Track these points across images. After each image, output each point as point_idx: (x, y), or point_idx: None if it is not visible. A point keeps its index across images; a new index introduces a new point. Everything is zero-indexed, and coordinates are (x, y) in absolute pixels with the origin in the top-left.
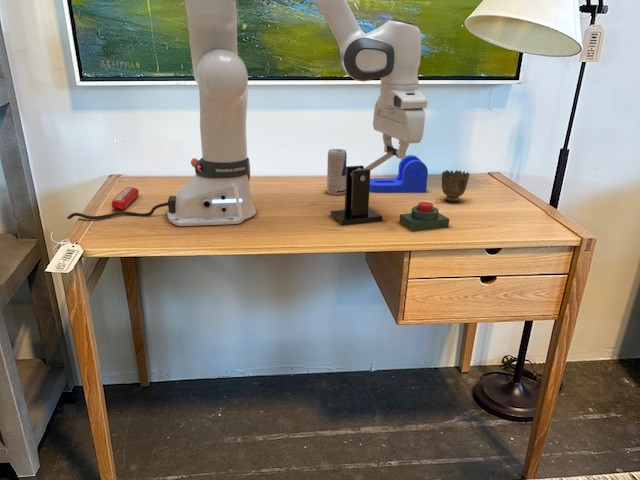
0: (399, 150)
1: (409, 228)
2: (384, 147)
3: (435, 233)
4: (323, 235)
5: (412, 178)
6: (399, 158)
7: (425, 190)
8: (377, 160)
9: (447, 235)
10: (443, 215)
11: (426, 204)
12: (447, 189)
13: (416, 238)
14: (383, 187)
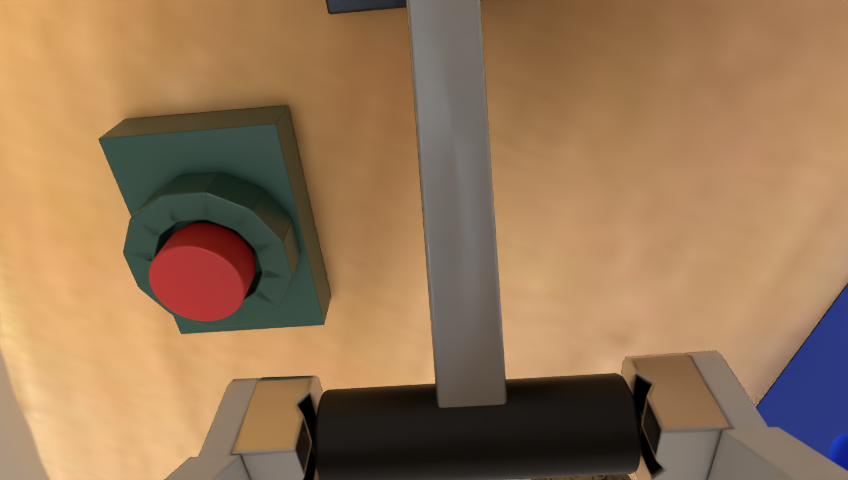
0: (180, 471)
1: (156, 117)
2: (740, 393)
3: (102, 220)
4: None
5: (838, 419)
6: (235, 381)
7: None
8: (459, 129)
9: (76, 258)
10: (236, 329)
11: (186, 286)
12: (558, 478)
13: (4, 96)
14: None
